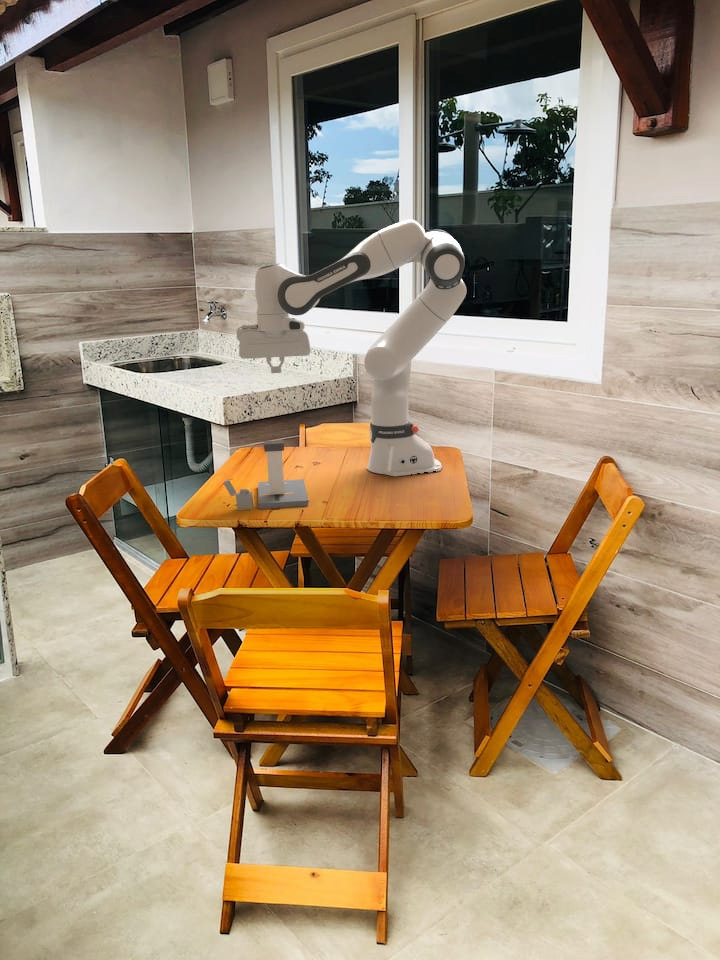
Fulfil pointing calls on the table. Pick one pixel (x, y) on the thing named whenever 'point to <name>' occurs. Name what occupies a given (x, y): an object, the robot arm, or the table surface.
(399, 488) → the table surface
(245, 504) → the lighter
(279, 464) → the grey post
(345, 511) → the table surface
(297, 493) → the console
